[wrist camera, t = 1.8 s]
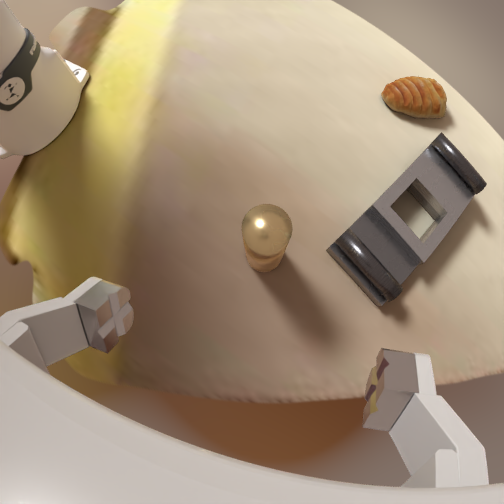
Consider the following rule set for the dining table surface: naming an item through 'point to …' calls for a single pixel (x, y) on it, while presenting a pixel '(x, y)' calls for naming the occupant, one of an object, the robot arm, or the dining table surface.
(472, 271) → the dining table surface
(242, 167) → the dining table surface
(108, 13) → the dining table surface
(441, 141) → the grey roller block
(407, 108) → the pastry
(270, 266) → the gold rounded cylinder
